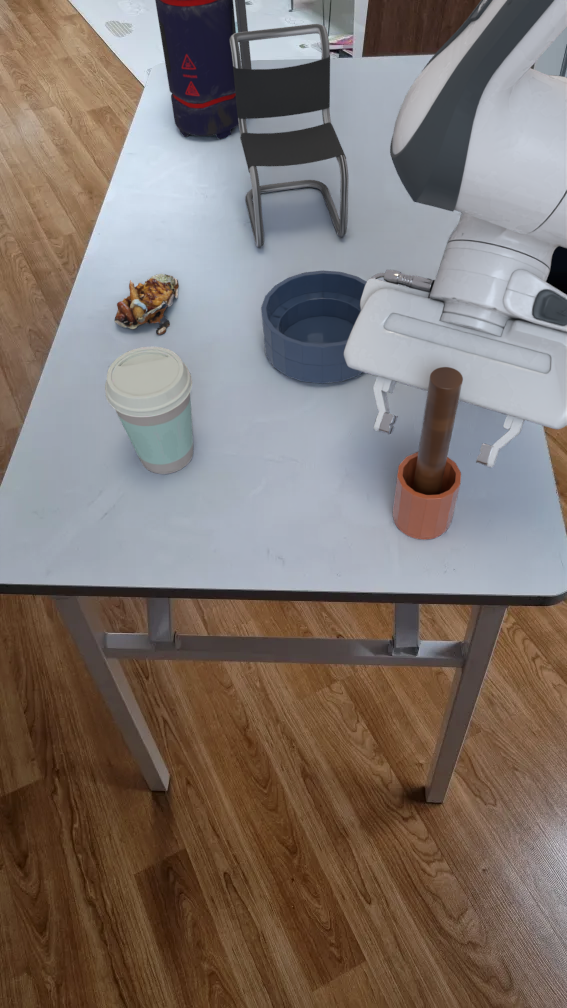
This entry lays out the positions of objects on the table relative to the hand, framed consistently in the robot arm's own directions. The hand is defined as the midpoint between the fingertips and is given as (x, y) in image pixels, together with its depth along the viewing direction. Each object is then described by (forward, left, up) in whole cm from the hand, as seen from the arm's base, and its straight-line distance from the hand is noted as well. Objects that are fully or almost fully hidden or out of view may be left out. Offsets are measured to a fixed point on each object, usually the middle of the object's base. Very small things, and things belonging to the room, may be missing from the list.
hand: (432, 448), depth 64 cm
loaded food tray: (+38, -29, -11) cm, 49 cm away
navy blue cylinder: (+42, -79, -11) cm, 90 cm away
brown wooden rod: (0, 0, -10) cm, 10 cm away
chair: (+23, -52, -11) cm, 58 cm away
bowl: (+14, -24, -11) cm, 30 cm away
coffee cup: (+28, -4, -11) cm, 30 cm away
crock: (0, 0, -11) cm, 11 cm away
